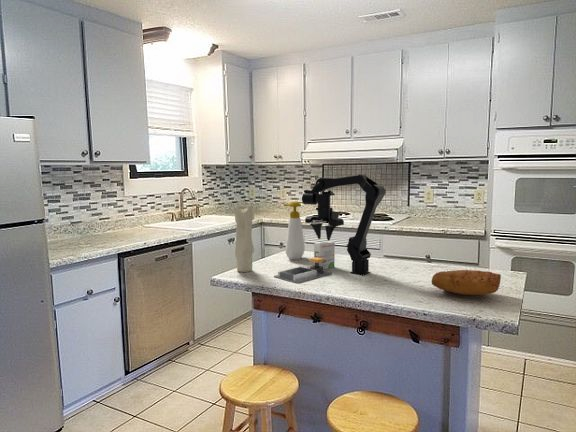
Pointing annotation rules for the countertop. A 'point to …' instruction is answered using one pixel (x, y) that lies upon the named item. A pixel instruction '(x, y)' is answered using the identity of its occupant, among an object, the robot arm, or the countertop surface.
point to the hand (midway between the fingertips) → (323, 239)
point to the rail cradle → (302, 274)
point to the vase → (244, 237)
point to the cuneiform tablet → (467, 282)
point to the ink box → (325, 253)
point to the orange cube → (316, 260)
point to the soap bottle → (294, 234)
